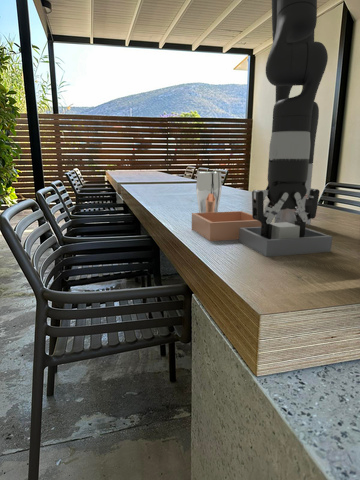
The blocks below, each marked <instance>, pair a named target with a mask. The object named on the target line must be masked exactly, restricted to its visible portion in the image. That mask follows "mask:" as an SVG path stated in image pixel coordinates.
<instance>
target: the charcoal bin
mask: <svg viewBox="0 0 360 480" xmlns="http://www.w3.org/2000/svg"><path fill="white" fill-rule="evenodd" d="M238 242H239V243H241V244H243V246H244V245H245V246H246V247H248V248H250V249H251V250H253V251H255V252H257V253H258V254H260V255H262V256H264V257H279V256H293V255H294V256H295V255H304V254H317V253H330V252H332V243H333V236H332V235H328V234H326V233H323V232H320V231H317V230H313V229H310V228H307V227H305V235H304V237H299V238H283V239H267V238H264V237H262V236H261V227H247V228H239V239H238Z"/></svg>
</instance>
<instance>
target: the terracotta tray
mask: <svg viewBox="0 0 360 480" xmlns="http://www.w3.org/2000/svg"><path fill="white" fill-rule="evenodd" d="M247 227H261V222H260V221H258V220H255V219H253V217H252V213H249V212H246V211H243V210H234V211H232V210H231V211H218V212H207V213H199V212H192V213H191V231H194V232H196V233H197V234H199V235H200V236H202V237H203V238H204V239H206V240H207V241H209V242H214V241H215V242H217V241H232V240H233V241H234V240H239V228H247Z"/></svg>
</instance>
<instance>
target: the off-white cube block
mask: <svg viewBox="0 0 360 480" xmlns="http://www.w3.org/2000/svg"><path fill="white" fill-rule="evenodd" d="M270 224H272V235H271V239H283V238H299V232H300V226H298V225H294V224H291V223H288V222H282V223H274V222H271V223H270Z"/></svg>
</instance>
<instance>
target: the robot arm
mask: <svg viewBox="0 0 360 480" xmlns="http://www.w3.org/2000/svg"><path fill="white" fill-rule="evenodd" d="M317 20H318V0H271V28H272V29H271V30H272V31H271V33H272V45H271V48H270V50H269V52H268V57H267V60H266V64H265V77H266V78H267V80H268V82H269V83H270V84H271V85H272V86H275V102H274V103H275V104H274V105H273V109H272V124H271V136H270V141H269V142H270V143H269V152H268V165H267V166H268V167H267V186H266V188H265V189H253V190H252V191H251V204H252V205H251V208H252V209H251V214H252V217H253V219H255V220H258V221H260V222H261V236H262V237H264V238H267V239H271V235H272V224H270V223H282V222H288V223H291V224H294V225H298V226H300V232H299V237H304V235H305V228H307V227H306V225H308V226H309V225H310V226H311V225H312V224H311V222H312V219H313V220H314V219H315V218H316V215H317V211H318V210H317V209H318V205H319V198H320V190H319V189H318V188H312V180H313V179H312V177H313V167H314V156H315V145H316V137H317V131H318V124H319V117H320V116H319V115H320V107H319V105H318V102H316V101H315V99H316V96H317V93H318V89H319V87H320V84H321V82H322V79H323V76H324V74H325V71H326V69H327V68H326V67H327V65H328V59H329V57H328V56H329V54H328V50H327V48H326V46H325V45H324V44H323V43H322V42H320V41H315V29H316V27H317V22H318V21H317ZM293 86H302V90H301V91H300V93H299V94H297V95H295V96H293V97H290V94H291V90H292V89H293ZM266 197H267V199H268V202H267V203H266V205H265V207H264V202H265V200H266ZM273 220H274V222H273Z"/></svg>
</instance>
